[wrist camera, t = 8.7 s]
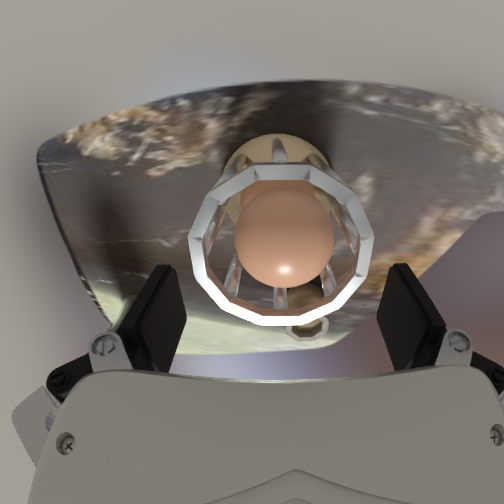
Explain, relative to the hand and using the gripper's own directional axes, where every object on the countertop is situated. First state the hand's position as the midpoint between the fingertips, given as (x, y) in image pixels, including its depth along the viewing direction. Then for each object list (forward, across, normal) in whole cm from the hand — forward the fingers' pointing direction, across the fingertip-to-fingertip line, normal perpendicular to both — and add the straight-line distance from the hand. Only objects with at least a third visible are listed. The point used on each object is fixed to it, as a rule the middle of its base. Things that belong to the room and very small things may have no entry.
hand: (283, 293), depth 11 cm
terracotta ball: (+6, 0, 0) cm, 6 cm away
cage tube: (+16, 0, 0) cm, 16 cm away
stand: (+16, -3, +13) cm, 21 cm away
